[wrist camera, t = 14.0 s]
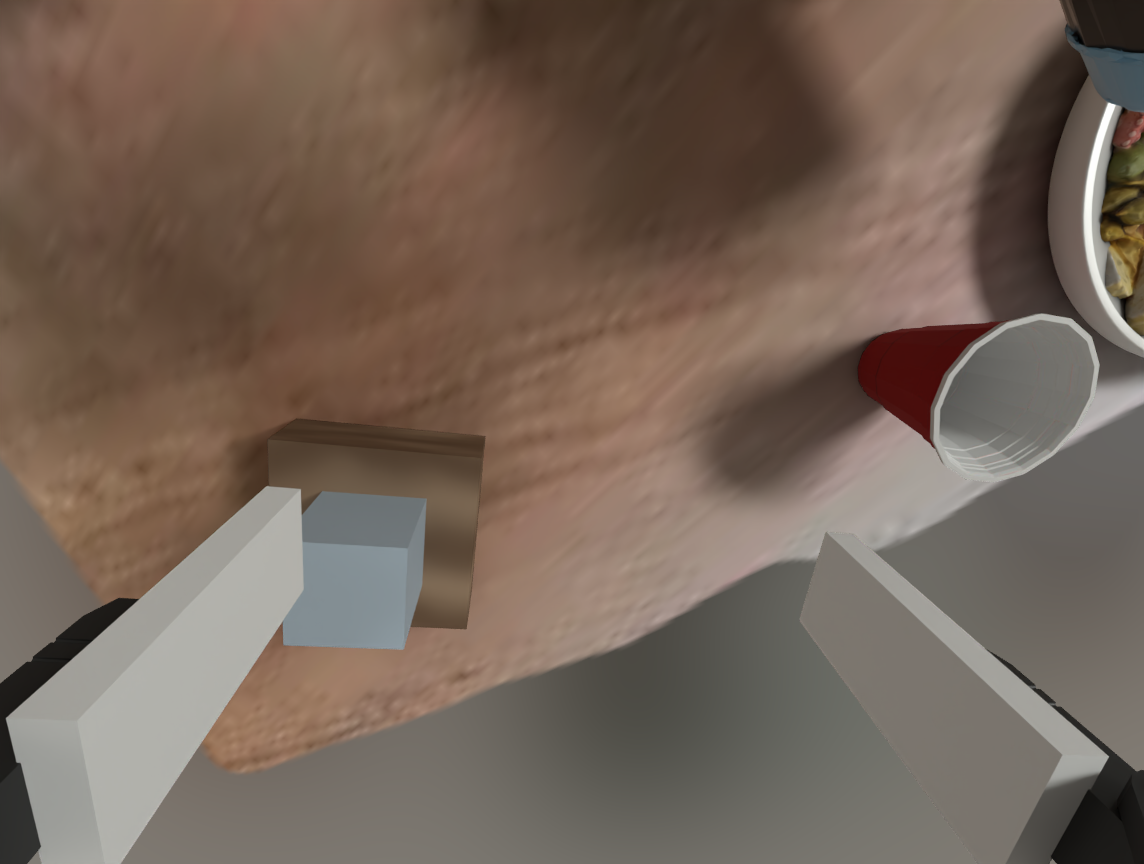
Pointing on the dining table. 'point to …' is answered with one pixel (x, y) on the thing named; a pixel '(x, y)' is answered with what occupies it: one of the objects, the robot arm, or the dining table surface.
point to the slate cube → (358, 571)
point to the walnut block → (397, 493)
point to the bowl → (1101, 217)
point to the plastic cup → (986, 389)
